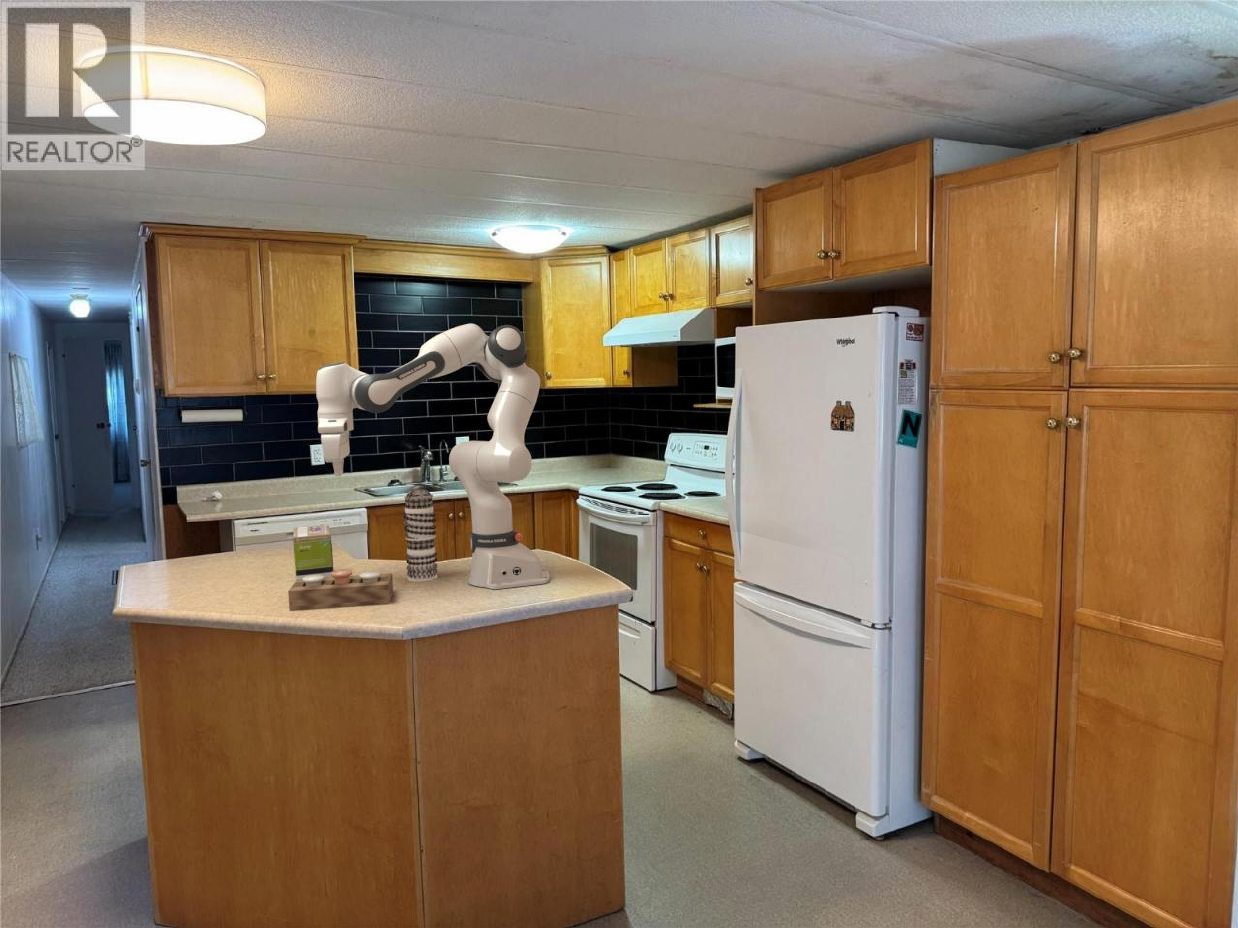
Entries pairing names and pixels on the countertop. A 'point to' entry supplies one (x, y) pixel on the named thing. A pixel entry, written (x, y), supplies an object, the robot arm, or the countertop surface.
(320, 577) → the grey plug
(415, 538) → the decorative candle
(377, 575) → the grey plug
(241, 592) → the countertop surface
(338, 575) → the terracotta plug
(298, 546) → the tea box
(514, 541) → the robot arm
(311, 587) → the socket board
